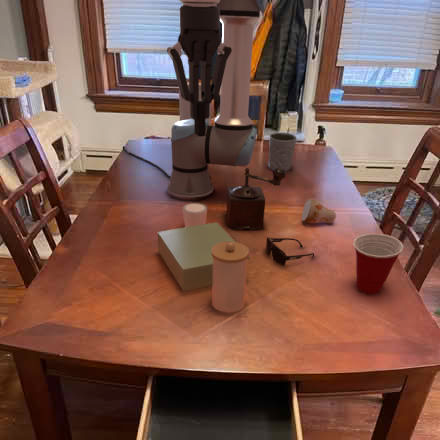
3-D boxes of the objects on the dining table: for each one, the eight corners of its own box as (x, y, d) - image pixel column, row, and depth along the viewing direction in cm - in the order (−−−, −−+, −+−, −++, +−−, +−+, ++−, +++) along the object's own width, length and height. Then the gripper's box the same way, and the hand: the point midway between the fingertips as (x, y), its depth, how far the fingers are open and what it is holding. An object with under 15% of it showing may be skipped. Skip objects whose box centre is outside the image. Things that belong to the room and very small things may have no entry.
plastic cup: (338, 275, 114) (347, 232, 107) (381, 274, 115) (392, 231, 108) (352, 301, 105) (363, 255, 98) (398, 299, 106) (411, 254, 99)
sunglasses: (259, 250, 123) (262, 233, 121) (296, 248, 128) (300, 231, 125) (278, 270, 115) (282, 252, 113) (317, 266, 120) (322, 249, 118)
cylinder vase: (177, 156, 187) (175, 90, 172) (184, 147, 197) (183, 83, 183) (207, 158, 185) (208, 92, 171) (213, 149, 195) (214, 85, 181)
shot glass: (189, 237, 129) (188, 214, 125) (179, 227, 134) (178, 205, 130) (211, 232, 132) (211, 210, 128) (200, 223, 137) (200, 201, 133)
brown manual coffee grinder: (228, 231, 133) (230, 170, 122) (225, 214, 142) (227, 156, 131) (281, 230, 134) (288, 170, 123) (275, 214, 143) (281, 157, 132)
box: (213, 244, 126) (214, 225, 123) (244, 280, 111) (246, 260, 108) (158, 254, 121) (157, 234, 117) (183, 294, 106) (183, 272, 103)
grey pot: (275, 161, 184) (278, 131, 177) (297, 167, 179) (301, 135, 172) (261, 168, 177) (264, 136, 170) (285, 174, 172) (288, 142, 165)
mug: (339, 228, 136) (329, 203, 130) (308, 238, 140) (296, 214, 134) (337, 212, 141) (327, 187, 135) (306, 222, 145) (295, 198, 138)
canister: (203, 304, 103) (203, 241, 94) (227, 291, 107) (229, 229, 98) (228, 320, 98) (231, 255, 89) (252, 305, 103) (257, 242, 94)
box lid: (216, 224, 123) (216, 222, 122) (249, 259, 108) (249, 256, 108) (157, 234, 117) (157, 231, 117) (183, 272, 103) (182, 269, 102)
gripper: (172, 5, 80) (176, 142, 94) (240, 6, 85) (234, 136, 98) (159, 3, 86) (165, 132, 99) (223, 4, 90) (221, 127, 104)
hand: (199, 134), depth 99 cm, fingers closed
